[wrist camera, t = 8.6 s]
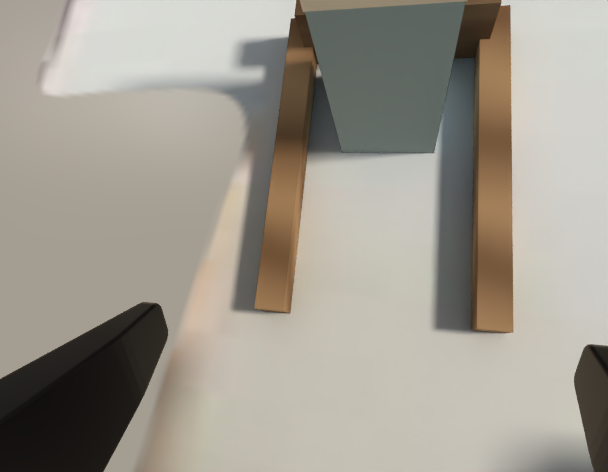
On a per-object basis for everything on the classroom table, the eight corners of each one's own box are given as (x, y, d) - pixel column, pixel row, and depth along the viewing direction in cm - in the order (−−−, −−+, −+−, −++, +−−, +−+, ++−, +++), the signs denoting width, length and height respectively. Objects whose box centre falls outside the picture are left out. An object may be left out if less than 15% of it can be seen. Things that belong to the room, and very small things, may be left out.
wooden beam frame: (504, 333, 20) (530, 330, 17) (262, 310, 23) (237, 303, 19) (503, 25, 24) (523, -35, 20) (296, 36, 27) (280, -16, 23)
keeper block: (435, 153, 23) (478, -48, 11) (341, 152, 24) (291, -32, 12) (437, 70, 24) (479, -192, 13) (348, 73, 26) (308, -165, 14)
